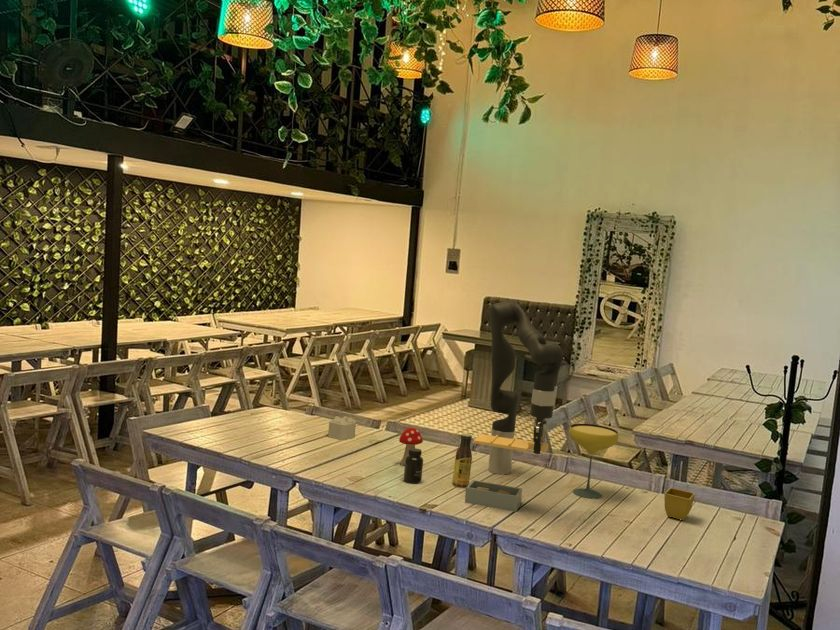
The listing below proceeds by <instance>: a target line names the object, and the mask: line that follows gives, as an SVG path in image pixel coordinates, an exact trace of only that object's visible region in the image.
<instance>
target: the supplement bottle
mask: <svg viewBox="0 0 840 630" xmlns="http://www.w3.org/2000/svg"><path fill="white" fill-rule="evenodd" d="M408 454H409V455H408V456H407V457H406V459H405V466H404V468H403V469H404V470H403V471H404V472H403V481H404V482H405V481H406V483H409V484H419V483H421V482H422V477H423V466H424V459H423V457H422V449H420V448H416V447H415V448H411V449H409V453H408Z"/></svg>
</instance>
